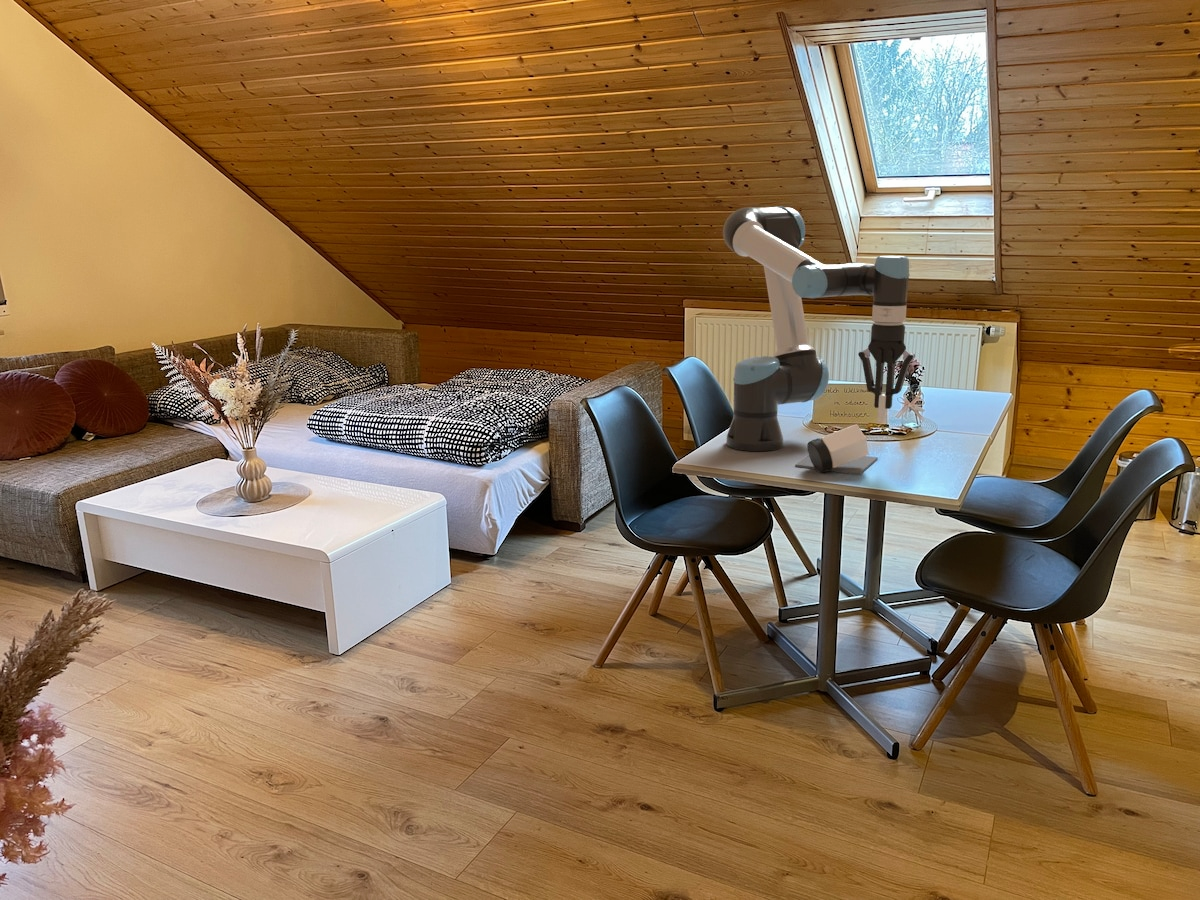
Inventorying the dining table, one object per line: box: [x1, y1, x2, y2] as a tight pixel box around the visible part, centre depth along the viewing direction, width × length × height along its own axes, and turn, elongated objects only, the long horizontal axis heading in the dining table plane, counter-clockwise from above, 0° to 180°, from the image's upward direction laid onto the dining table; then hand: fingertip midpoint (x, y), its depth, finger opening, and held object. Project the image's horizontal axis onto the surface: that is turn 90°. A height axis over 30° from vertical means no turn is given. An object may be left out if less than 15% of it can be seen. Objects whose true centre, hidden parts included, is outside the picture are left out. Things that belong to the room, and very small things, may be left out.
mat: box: [794, 454, 878, 476], centre depth 224 cm, size 16×16×1 cm
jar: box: [806, 424, 870, 474], centre depth 217 cm, size 9×8×12 cm
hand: (882, 421), depth 216 cm, fingers closed
